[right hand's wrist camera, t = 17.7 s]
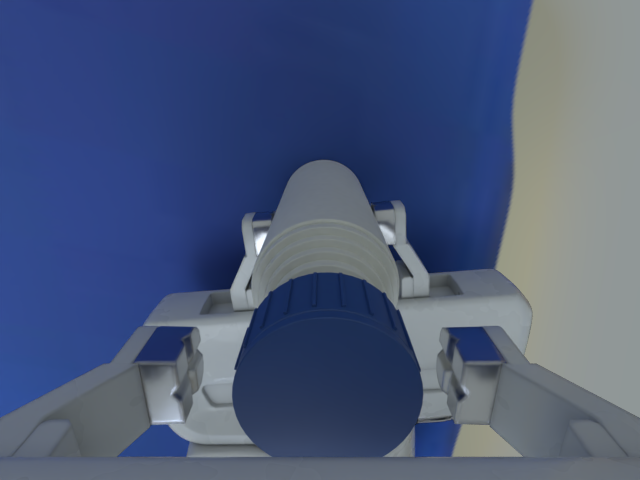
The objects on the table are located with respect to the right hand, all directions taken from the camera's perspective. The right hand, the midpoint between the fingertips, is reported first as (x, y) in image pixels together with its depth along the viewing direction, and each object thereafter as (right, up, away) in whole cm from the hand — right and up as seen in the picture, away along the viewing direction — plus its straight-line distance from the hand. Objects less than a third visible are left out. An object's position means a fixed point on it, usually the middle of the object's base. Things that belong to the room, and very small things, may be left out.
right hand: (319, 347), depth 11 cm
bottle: (0, +5, +14) cm, 15 cm away
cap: (0, 0, -2) cm, 2 cm away
